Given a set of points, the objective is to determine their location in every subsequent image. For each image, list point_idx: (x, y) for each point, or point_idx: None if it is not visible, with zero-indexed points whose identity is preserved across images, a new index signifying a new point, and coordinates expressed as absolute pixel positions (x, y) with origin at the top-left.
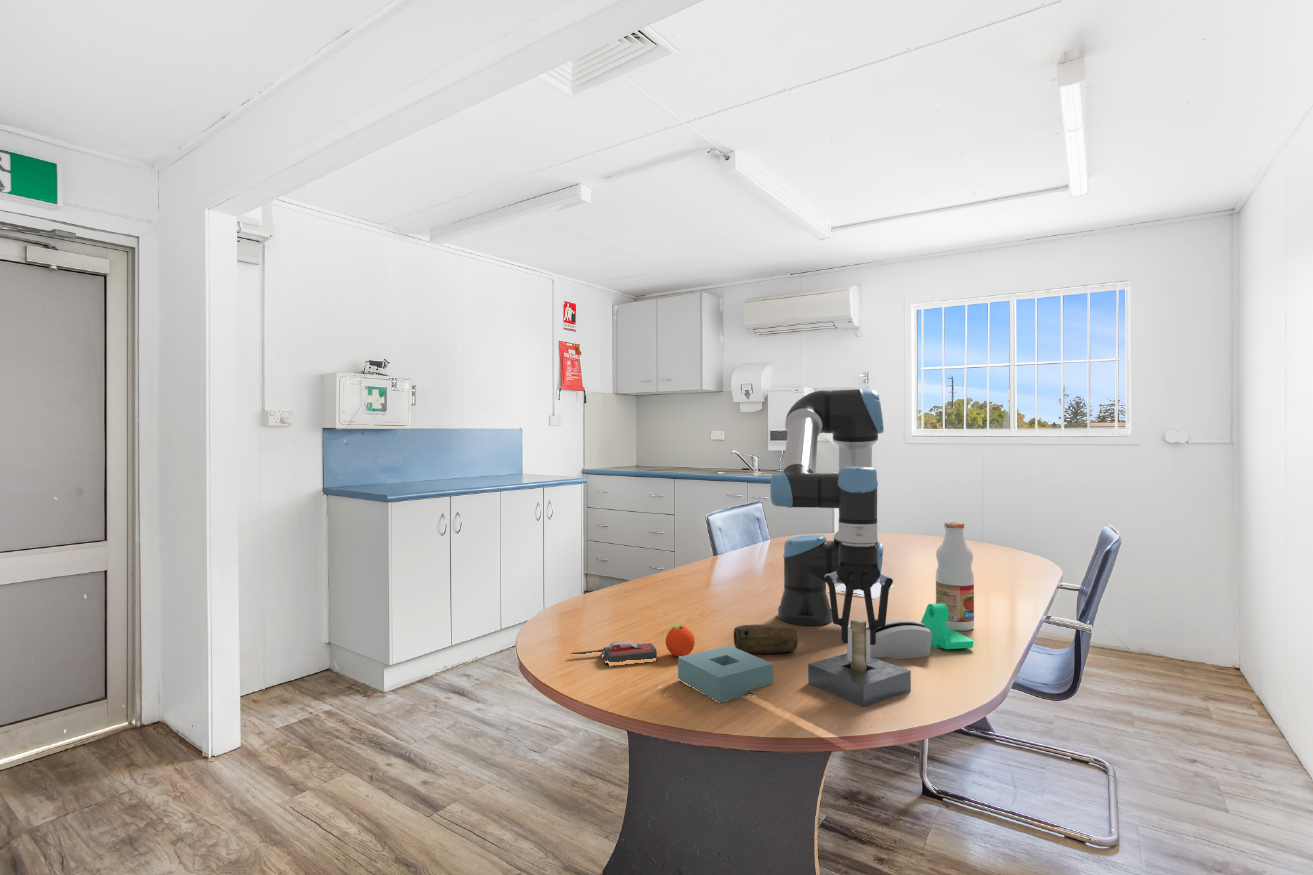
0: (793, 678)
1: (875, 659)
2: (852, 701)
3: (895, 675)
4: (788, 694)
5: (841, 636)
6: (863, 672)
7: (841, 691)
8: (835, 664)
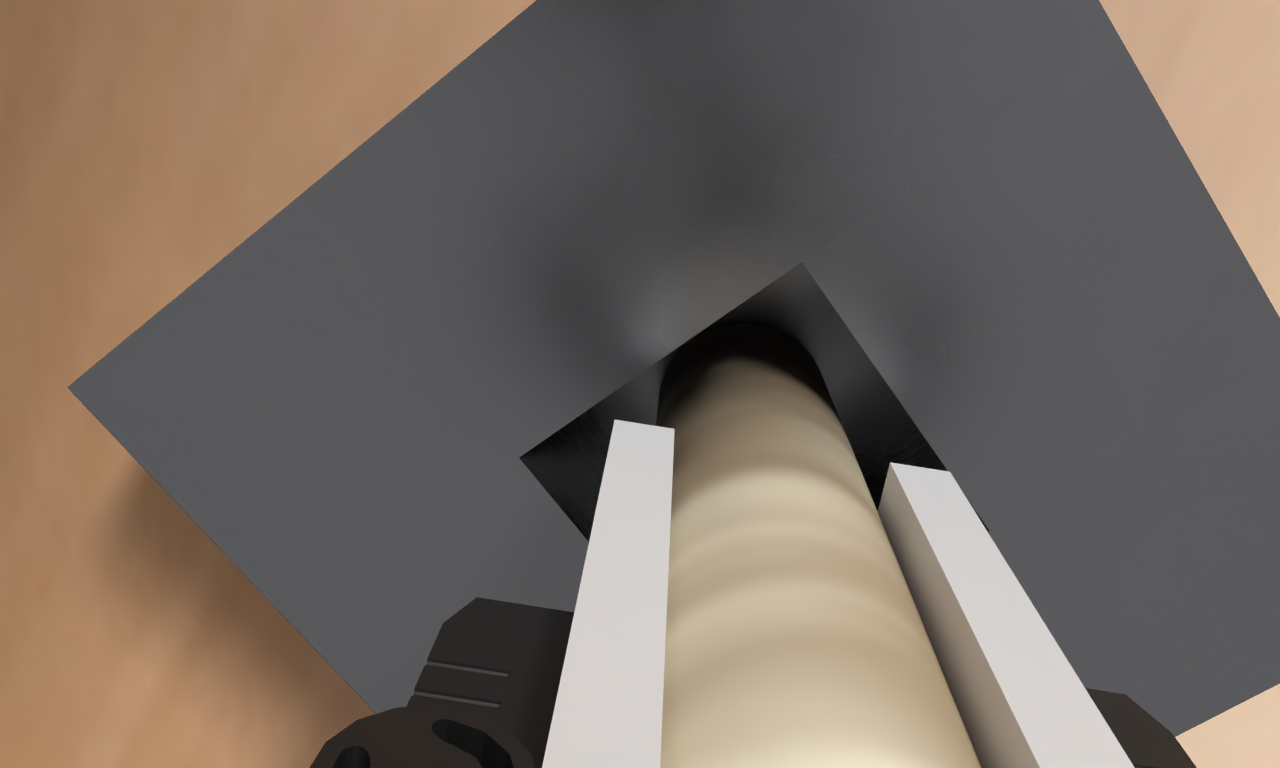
0: (60, 8)
1: (1136, 160)
2: None
3: None
4: (33, 465)
5: (431, 651)
6: None
7: None
8: (448, 404)
